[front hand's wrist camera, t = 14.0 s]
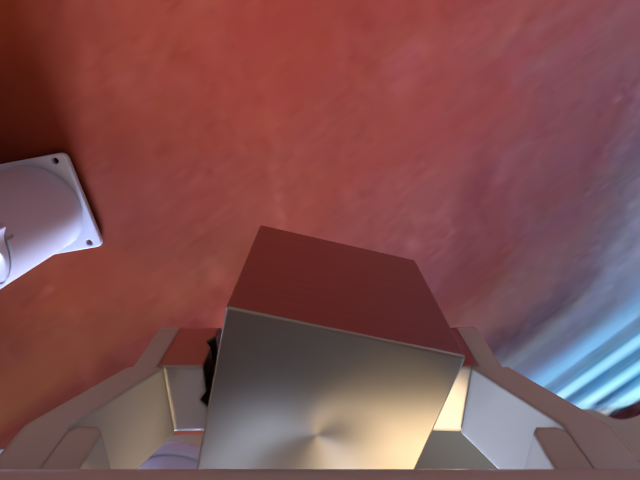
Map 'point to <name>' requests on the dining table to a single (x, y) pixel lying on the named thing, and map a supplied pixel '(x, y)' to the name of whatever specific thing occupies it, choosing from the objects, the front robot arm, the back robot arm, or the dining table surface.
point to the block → (327, 360)
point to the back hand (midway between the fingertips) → (215, 379)
